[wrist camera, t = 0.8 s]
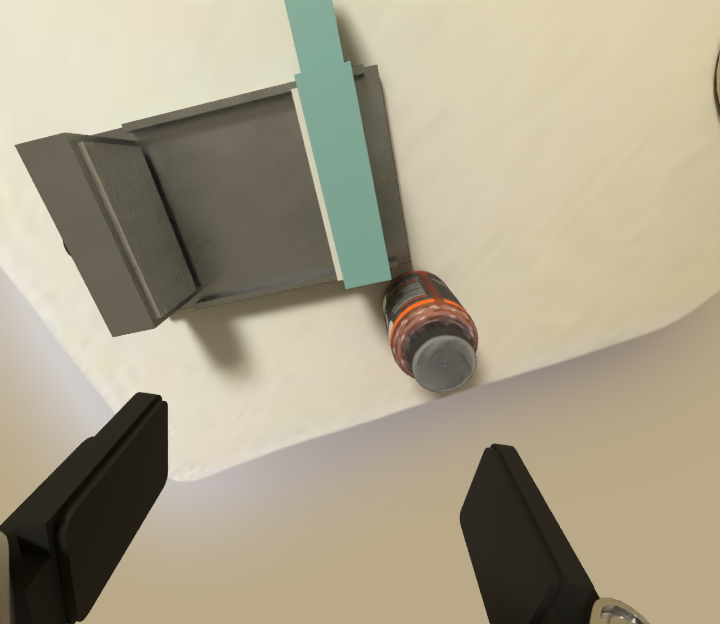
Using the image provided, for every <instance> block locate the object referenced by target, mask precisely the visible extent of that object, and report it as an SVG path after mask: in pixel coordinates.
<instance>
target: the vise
mask: <svg viewBox="0 0 720 624" xmlns="http://www.w3.org/2000/svg"><path fill="white" fill-rule="evenodd" d="M352 72H353V78H354V83H355V88H356V94H357V99H358V104H359V109H360V115H361V120H362V125H363V131H364V136H365V141H366V146H367V152H368V157H369V162H370V168H371V173H372V178H373V183H374V189H375V194H376V199H377V205H378V210H379V215H380V220H381V226H382V231H383V236H384V242H385V247H386V252H387V257H388V263H389V268H390V269H392V268H397V267H399V264H400V263H405V262H409V261H410V258H409V252H408V246H407V240H406V234H405V228H404V223H403V217H402V211H401V205H400V199H399V193H398V187H397V181H396V175H395V169H394V163H393V157H392V151H391V145H390V139H389V133H388V127H387V121H386V115H385V109H384V103H383V97H382V91H381V85H380V79H379V73H378V67H377V65H373V66H369V67H365V68H364V67H363V64H362V65H358V66H354V67H352ZM294 88H297V85H296V81H294V82H290V83H286V84H282V85H278V86H274V87H270V88H266V89H262V90H257V91H253V92H249V93H245V94H241V95H237V96H233V97H229V98H225V99H221V100H217V101H213V102H209V103H205V104H201V105H197V106H193V107H189V108H185V109H181V110H177V111H173V112H169V113H165V114H161V115H157V116H153V117H149V118H145V119H141V120H137V121H133V122H129V123H125V124H122V127H123V128H119V129H115V130H111V131H107V132H103V133H99V134H95V135H91V136H90V135H81V134H73V133H61V134H57V135H53V136H49V137H45V138H41V139H37V140H33V141H29V142H25V143H21V144H17V145H15V147H16V149H17V151H18V153H19V155H20V157H21V159H22V161H23V162H24V164H25V166H26V168H27V170H28V172H29V174H30V176H31V178H32V180H33V182H34V184H35V186H36V188H37V190H38V192H39V194H40V196H41V198H42V200H43V202H44V204H45V206H46V208H47V209H48V211H49V213H50V215H51V217H52V219H53V221H54V223H55V225H56V227H57V229H58V231H59V233H60V235H61V237H62V239H63V244H64V247H65V250H66V251H67V253H68V254H69V255H70V256H71V257H72V258H73V260H74V262H75V264H76V266H77V268H78V270H79V272H80V274H81V276H82V278H83V280H84V282H85V284H86V286H87V288H88V290H89V292H90V294H91V296H92V298H93V300H94V301H95V303H96V305H97V307H98V309H99V311H100V313H101V315H102V317H103V319H104V321H105V323H106V325H107V327H108V329H109V331H110V333H111V335H112V337H116V336H121V335H125V334H130V333H135V332H140V331H145V330H150V329H154V328H156V327H157V326H158V325H160V324H161V323H162V322H163V321H165V320H166V319H167V318H168V317H170V316H171V315H172V314H173V313H175V312H176V311H177V310H181V309H186V308H191V307H196V309H201V308H206V307H211V306H216V305H221V304H225V303H230V302H235V301H240V300H244V299H249V298H254V297H259V296H263V295H268V294H273V293H278V292H282V291H287V290H292V289H297V288H302V287H306V286H311V285H316V284H321V283H325V282H330V281H335V280H338V279H337V275H336V271H335V267H334V263H333V259H332V255H331V251H330V246H329V242H328V238H327V234H326V230H325V226H324V222H323V218H322V214H321V210H320V206H319V202H318V198H317V194H316V189H315V185H314V181H313V177H312V173H311V169H310V165H309V161H308V157H307V153H306V149H305V145H304V141H303V137H302V132H301V128H300V124H299V120H298V116H297V112H296V108H295V104H294V100H293V96H292V92H291V89H294Z"/></svg>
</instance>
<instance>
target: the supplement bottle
mask: <svg viewBox="0 0 720 624" xmlns="http://www.w3.org/2000/svg"><path fill="white" fill-rule="evenodd" d="M383 312H384V318H385V322H386V326H387V331H388V336H389V341H390V346H391V350H392V353H393V356H394V359H395V361H396V363H397V364H398V366H399V367H400V368H401V369H402V371H403V372H405V373H406V374H407V375H409V376H411V377H413V378H415V379H416V380H417V382H418V383H419V384H420V385H421V386H423V387H424V388H426V389H428V390H431V391H434V392H448V391H452V390H455V389H457V388H459V387H461V386H462V385H464V384H465V383H466V382H467V381H468V380H469V379H470V378H471V376H472V375H473V373H474V371H475V368H476V363H477V362H476V354H475V353H476V350H477V346H478V334H477V329H476V327H475V324H474V322H473V320H472V319H471V317H470V316H469V314H468V313H467V312H466V310H465V309H464V308H463V306H462V305H461V304H460V302H459V301H458V300H457V298H456V297H455V296H454V295H453V293H452V292H451V291H450V290H449V288H448V287H447V286H446V284H445V283H444V282H443V281H442V280H441V279H440V278H438V277H437V276H436V275H434V274H432V273H429V272H425V271H410V272H407V273H404V274H402V275H400V276H398V277H397V278H396V279H394V280H393V281H392V282H391V283H390V285H389V286H388V288H387V289H386V291H385V294H384V298H383Z"/></svg>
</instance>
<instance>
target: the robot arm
mask: <svg viewBox="0 0 720 624" xmlns="http://www.w3.org/2000/svg"><path fill="white" fill-rule="evenodd" d="M717 94H718V98H719V103H720V55H719V62H718V68H717ZM167 476H168V404H167V402H166V401H162V397H161V396H160V395H156V394H149V393H142V392H138V393H136V394H135V395H134V396H133V397H132V398H131V399H130V400H129V401H128V402H127V403H126V404H125V405H124V406H123V407H122V408H121V410H120V411H119V412H118V413H117V414H116V415H115V416H114V417H113V418H112V419H111V420H110V421H109V422H108V423H107V424H106V425H105V426H104V427H103V428H102V429H101V430H100V431H99V432H98V433H97V434H96V436H94V437H90V438H88V439H86V440H85V441H84V442H82V443H81V444H80V445H79V447H77V448H76V449H75V450H74V451H73V453H72V454H71V455H69V456H68V458H67V459H66V460H65V461H64V462H63V463H62V464H61V465H60V466H59V467H58V468H57V469H56V470H55V471H54V472H53V473H52V474H51V475H50V476H49V477H48V478H47V479H46V480H45V481H44V482H43V483H42V484H41V485H40V486H39V487H38V488H37V489H36V490H35V491H34V492H33V493H32V494H31V495H30V496H29V497H28V498H27V499H26V500H25V501H24V502H23V503H22V504H21V505H20V506H19V507H18V508H17V509H16V510H15V511H14V512H13V513H12V514H11V515H10V516H9V517H8V518H7V519H6V520H5V521H4V522H3V524H1V525H0V624H74V623H75V622H76V621H78V622H81V621H83V620H84V618H86V616H87V615H88V613H89V612H90V610H91V609H92V607H93V605H94V604H95V602H96V600H97V598H98V597H99V595H100V593H101V592H102V590H103V588H104V587H105V585H106V583H107V581H108V580H109V578H110V576H111V575H112V573H113V571H114V570H115V568H116V566H117V565H118V563H119V562H120V560H121V558H122V557H123V555H124V553H125V551H126V550H127V548H128V546H129V545H130V543H131V541H132V540H133V538H134V536H135V535H136V533H137V531H138V530H139V528H140V526H141V525H142V522H143V521H144V519H145V518H146V516H147V514H148V513H149V511H150V509H151V508H152V506H153V504H154V503H155V501H156V499H157V498H158V496H159V494H160V493H161V491H162V489H163V488H164V485H165V483H166V480H167ZM460 524H461V528H462V531H463V535H464V538H465V542H466V545H467V548H468V552H469V555H470V558H471V562H472V565H473V568H474V572H475V575H476V579H477V582H478V585H479V589H480V592H481V595H482V599H483V602H484V605H485V609H486V612H487V616H488V619H489V622H490V624H650V623H649V622H648V621H647V620H646V619H645V618H644V617H643V616H641V615H640V614H639V613H638V612H637V611H635V610H634V609H633V608H632V607H630V606H628V605H626V604H625V603H623V602H621V601H618V600H615V599H612V598H601V599H600V598H599V596H598V594H597V592H596V591H595V589H594V586H593V584H592V582H591V581H590V579H589V577H588V575H587V573H586V572H585V570H584V568H583V567H582V565H581V563H580V561H579V559H578V558H577V556H576V554H575V552H574V551H573V549H572V547H571V545H570V544H569V542H568V540H567V538H566V537H565V535H564V533H563V531H562V530H561V528H560V526H559V524H558V523H557V521H556V519H555V517H554V516H553V514H552V512H551V511H550V509H549V507H548V505H547V503H546V502H545V500H544V498H543V496H542V495H541V493H540V491H539V489H538V488H537V486H536V484H535V482H534V481H533V479H532V477H531V476H530V474H529V472H528V470H527V468H526V467H525V465H524V463H523V461H522V460H521V458H520V456H519V454H518V453H517V451H516V449H515V448H514V447H513V446H508V445H501V444H492V445H491V447H490V448H486V449H485V450H484V453H483V455H482V458H481V460H480V463H479V466H478V468H477V470H476V473H475V476H474V478H473V481H472V483H471V486H470V489H469V491H468V494H467V496H466V499H465V501H464V504H463V507H462V509H461V512H460Z"/></svg>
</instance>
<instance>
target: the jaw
mask: <svg viewBox="0 0 720 624" xmlns="http://www.w3.org/2000/svg"><path fill="white" fill-rule="evenodd" d="M284 1H285V5H286V10H287V14H288V18H289V22H290V27H291V31H292V35H293V40H294V44H295V48H296V52H297V57H298V61H299V65H300V70H301V73H299V74H295V75H294V77H295V81H296V85H297V88H294V89H291V92H292V96H293V100H294V104H295V108H296V112H297V116H298V120H299V124H300V128H301V132H302V137H303V141H304V145H305V149H306V153H307V157H308V161H309V165H310V169H311V173H312V177H313V181H314V185H315V189H316V194H317V198H318V202H319V206H320V210H321V214H322V218H323V222H324V226H325V230H326V234H327V238H328V242H329V246H330V251H331V255H332V259H333V263H334V267H335V271H336V275H337V279H338V281H340V280H343V281H344V285H345V289H349V288H354V287H359V286H363V285H368V284H373V283H378V282H383V281H388V280H392V279H391V273H390V268H389V263H388V257H387V252H386V247H385V242H384V236H383V231H382V226H381V220H380V215H379V210H378V205H377V199H376V194H375V189H374V183H373V178H372V173H371V168H370V162H369V157H368V152H367V146H366V141H365V136H364V131H363V125H362V120H361V115H360V109H359V104H358V99H357V94H356V88H355V83H354V78H353V72H352V67H351V62H350V61H347V62H344V59H343V54H342V49H341V43H340V38H339V33H338V28H337V23H336V18H335V13H334V8H333V2H332V0H284Z"/></svg>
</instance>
